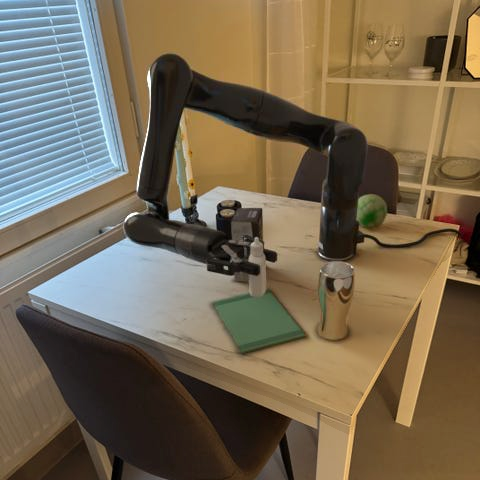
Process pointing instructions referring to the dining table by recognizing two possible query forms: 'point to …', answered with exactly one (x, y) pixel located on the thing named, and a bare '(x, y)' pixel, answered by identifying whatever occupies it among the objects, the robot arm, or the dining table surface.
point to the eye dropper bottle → (259, 282)
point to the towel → (257, 321)
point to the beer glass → (335, 298)
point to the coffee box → (246, 230)
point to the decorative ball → (371, 211)
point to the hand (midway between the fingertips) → (267, 264)
